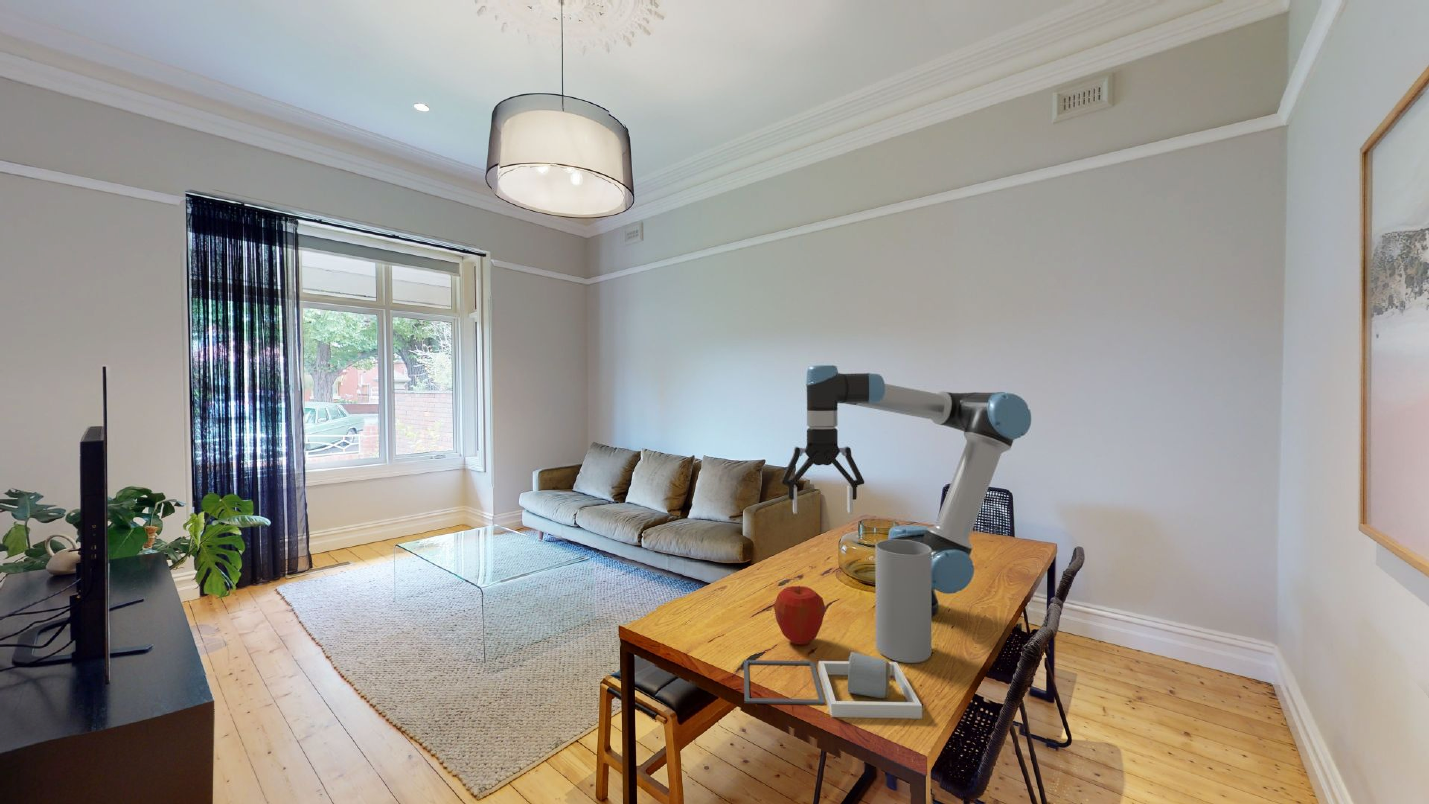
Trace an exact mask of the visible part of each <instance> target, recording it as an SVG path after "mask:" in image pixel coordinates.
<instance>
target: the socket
mask: <svg viewBox="0 0 1429 804" xmlns="http://www.w3.org/2000/svg"><path fill="white" fill-rule="evenodd" d="M849 659H850V656H848V660H847V661H845V660H844V661H841V660H839V661H838V660H835V661H834V660H819V661H818V675H819V680H820V683H821V687H822V688H823V694H824V697H825V701H826V703H827V706H828V710H829V712H830V717H831V718H863V719H864V718H865V719H866V718H868V719H869V718H870V719H871V718H872V719H873V718H874V719H915V720H916V719H917V720H920V719H923V705H922V704H921V702H920V700H919V698H918V696H917V694H916V692H915V691H914V690H913V688H912V686H911V684H910V682H909V681H908V679H907V678H906V676H905V674H904V672H903V671H902V669H901V668H900V665H899V664H898V661H888V662H889V664H890V677H893V678H894V679H895V681H896V684H897V686H898V687H899V689H900V690H901V693H902V695H903V696H904V697H905V700H906V701H862V700H861V701H855V700H854V701H853V700H849V701H848V700H845V701H844V700H836V698H835V694H834V691H833V688H832V684H831V682H830V681H831V680H830V679H829V676H830V675H831V676H848V671H849ZM828 675H829V676H828Z"/></svg>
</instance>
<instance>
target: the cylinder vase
mask: <svg viewBox="0 0 1429 804" xmlns="http://www.w3.org/2000/svg"><path fill="white" fill-rule="evenodd" d="M874 551H875V648H876V650H877V651H878V653H880V655H882V656H884V657H885V658H887V659H890V660H893V661H894V662H897V663H898V662H900V663H905V664H918V663H923V662H926V661H927V660H929V659H930V657H931V655H932V616H931V560H932V550H931V548H930V547H929V546H927V545H925V544H923V543H919V542H915V541H909V540H897V539H893V540H888V539H883V540H880V541H877V542H876V543H875V550H874Z"/></svg>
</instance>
